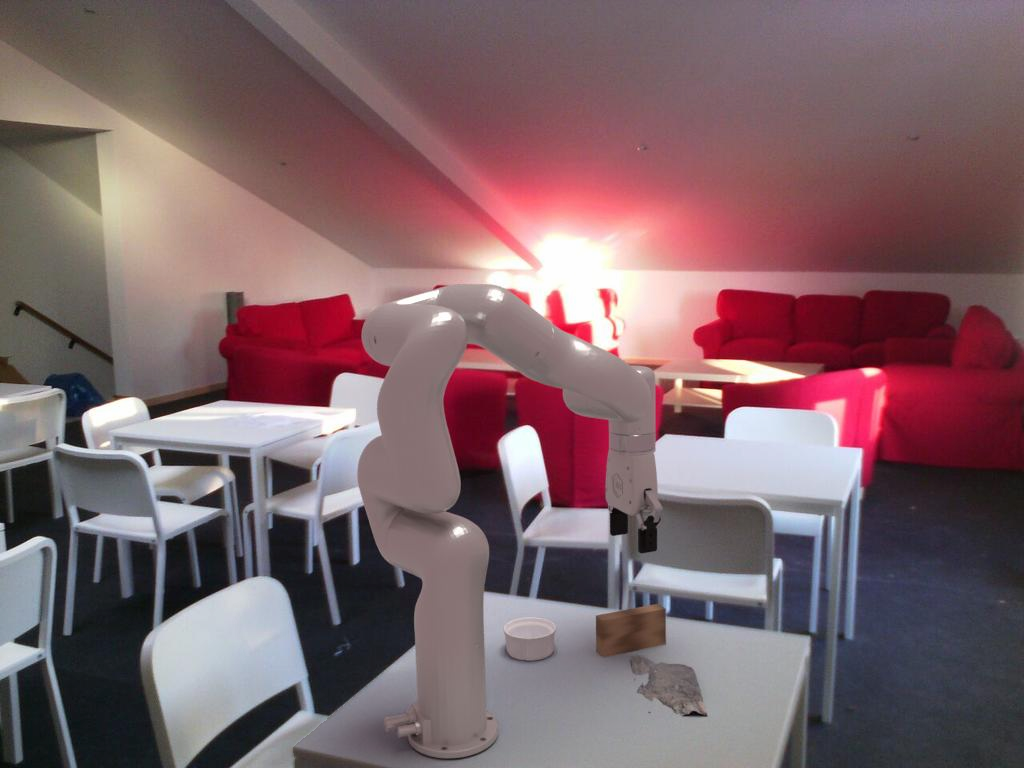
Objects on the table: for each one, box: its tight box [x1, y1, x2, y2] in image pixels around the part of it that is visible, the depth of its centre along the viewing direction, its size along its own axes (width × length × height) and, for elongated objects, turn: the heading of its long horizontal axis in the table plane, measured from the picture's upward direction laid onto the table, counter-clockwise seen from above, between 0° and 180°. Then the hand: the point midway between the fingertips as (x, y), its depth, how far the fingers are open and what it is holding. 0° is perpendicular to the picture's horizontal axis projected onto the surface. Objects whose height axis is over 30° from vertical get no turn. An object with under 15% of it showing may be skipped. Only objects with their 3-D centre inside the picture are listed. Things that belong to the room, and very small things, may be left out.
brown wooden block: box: [595, 603, 667, 658], centre depth 148 cm, size 12×3×6 cm, turn 111°
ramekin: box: [503, 616, 557, 662], centre depth 148 cm, size 9×9×4 cm
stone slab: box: [630, 654, 708, 717], centre depth 135 cm, size 18×2×10 cm
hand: (632, 542), depth 146 cm, fingers open, 9 cm apart
